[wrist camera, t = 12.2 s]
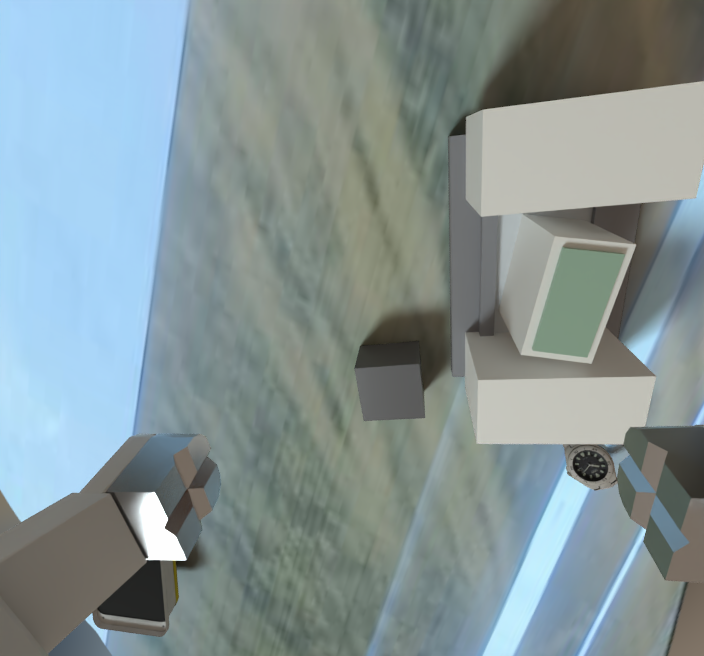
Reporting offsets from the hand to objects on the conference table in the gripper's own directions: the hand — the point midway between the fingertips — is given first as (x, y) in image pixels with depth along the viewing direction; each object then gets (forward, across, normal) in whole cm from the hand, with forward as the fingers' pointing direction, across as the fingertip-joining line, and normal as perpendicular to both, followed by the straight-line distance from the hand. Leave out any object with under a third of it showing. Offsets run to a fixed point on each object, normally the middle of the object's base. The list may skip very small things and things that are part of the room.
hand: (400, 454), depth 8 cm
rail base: (+24, -9, +4) cm, 26 cm away
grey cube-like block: (+24, +2, +13) cm, 28 cm away
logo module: (+23, -9, +4) cm, 25 cm away
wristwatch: (+24, -14, +21) cm, 35 cm away
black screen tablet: (+19, +36, +44) cm, 60 cm away
